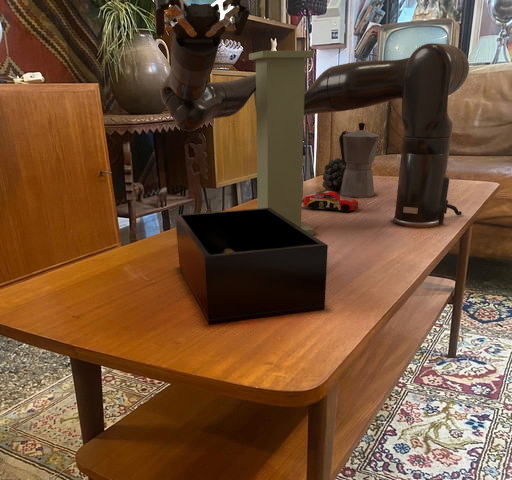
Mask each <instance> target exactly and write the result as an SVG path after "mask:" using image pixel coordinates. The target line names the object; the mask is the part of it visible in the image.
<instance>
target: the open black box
mask: <svg viewBox="0 0 512 480" xmlns="http://www.w3.org/2000/svg"><path fill="white" fill-rule="evenodd" d="M174 218H175V227H176V240H177V241H176V242H177V252H178V253H177V254H178V265H179V270H180V272H181V274H182V276H183V277H184V280H185V281H186V283H187V285H188V288H189V289H190V292H191V293H192V295H193V297H194V299H195V301H196V303H197V305H198V307H199V309H200V311H201V313H202V315H203V317H204V319H205V321H206V323H207V324H208V326H213V325H221V324H228V323H235V322H244V321H250V320H251V321H252V320H259V319H267V318H275V317H282V316H290V315H296V314H305V313H312V312H321V311H325V307H326V290H327V269H328V268H327V267H328V251H329V250H328V248H329V245H328V244H327V243H325V242H323V241H322V240H321V239H320V238H317V237H316V236H314V235H311V234H310V233H308V232H307V231H305V230H304V229H302V228H300V227H299V226H297V225H296V224H294V223H293V222H291V221H290V220H288V219H287V218H285V217H284V216H282V215H280V214H279V213H277V212H276V211H274V210H273V209H271V208H259V209H258V208H246V209H235V210H233V209H232V210H219V211H207V212H192V213H183V214H175V215H174ZM225 249H232V250H234V251H235V252H232V253H222V252H223V251H224V250H225Z"/></svg>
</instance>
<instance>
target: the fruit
mask: <svg viewBox="0 0 512 480" xmlns="http://www.w3.org/2000/svg"><path fill="white" fill-rule="evenodd" d="M345 169H346V164H345V163H343V162H342V158H339V157H335V158H334V159H333V160H332V159H331V160H329V161H328V162H327V164H325V165H324V171H323V175H322V180H323V181H322V184H321V185H322V187H323V188H326V191H333V192H340V189H341V184H342V180H343V175H344V171H345Z"/></svg>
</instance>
